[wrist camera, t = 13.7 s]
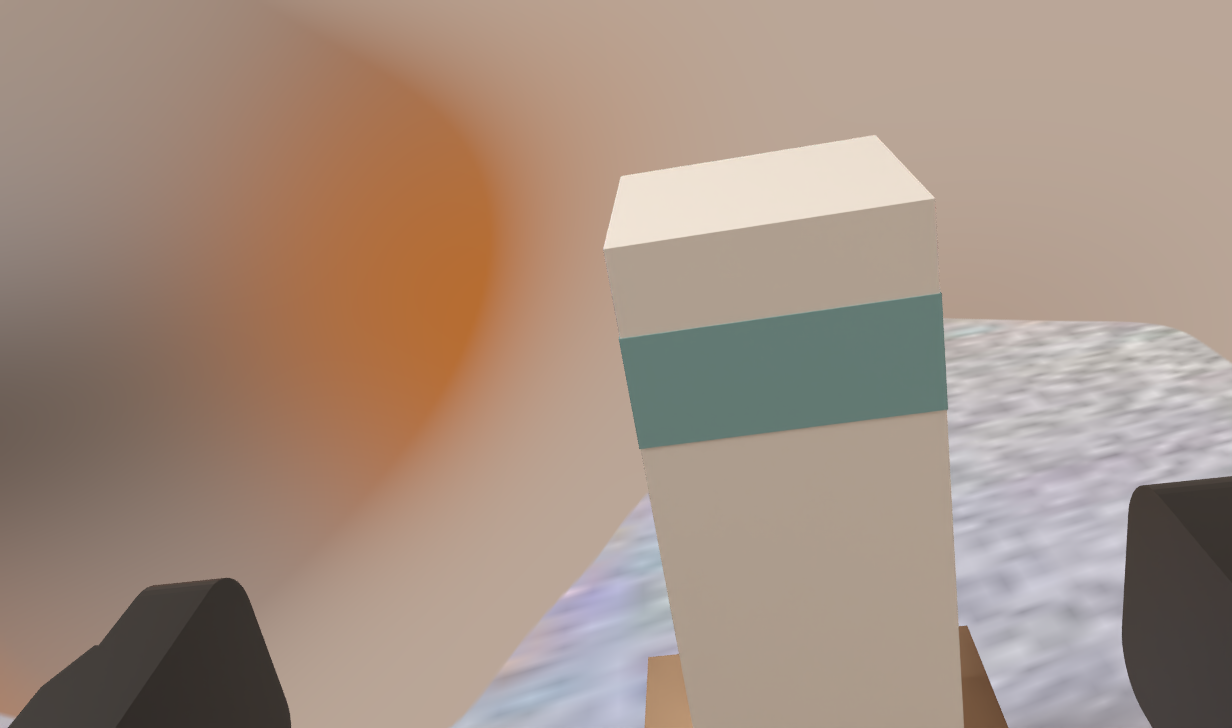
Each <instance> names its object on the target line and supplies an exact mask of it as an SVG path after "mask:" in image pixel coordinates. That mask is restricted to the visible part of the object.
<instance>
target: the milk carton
mask: <svg viewBox="0 0 1232 728" xmlns="http://www.w3.org/2000/svg"><path fill="white" fill-rule="evenodd" d="M603 251H604V256H605V262H606V267H607V272H608V278H609V283H610V288H611V293H612V299H613V304H614V310H615V315H616V320H617V326H618V331H619V342H620V348H621V353H622V359H623V364H624V369H625V374H626V380H627V385H628V390H629V396H630V401H631V406H632V411H633V417H634V422H635V427H636V433H637V437H638V444H639V449H641V453H642V459H643V464H644V469H645V475H646V480H647V485H648V491H649V496H650V501H651V507H652V512H653V517H654V523H655V528H656V533H657V539H658V544H659V549H660V555H661V560H662V565H663V571H664V576H665V581H666V587H667V592H668V597H669V603H670V608H671V613H672V619H673V624H674V629H675V635H676V640H677V645H678V651H679V656H680V661H681V667H682V672H683V677H684V683H685V688H686V693H687V699H688V704H689V709H690V715H691V720H692V725H693V728H964V718H963V700H962V682H961V663H960V645H959V627H958V608H957V590H956V572H955V554H954V535H953V517H952V499H951V480H950V462H949V444H948V425H947V410H948V402H947V383H946V365H945V346H944V328H943V311H942V310H943V309H942V293H941V292H940V279H939V261H938V242H937V224H936V207H935V198H934V197H933V196H932V195H931V194H930V192H929V191H928V190H927V189H926V188H925V187H924V186H923V185H922V184H921V183H920V182H919V181H918V180H917V179H916V178H915V177H914V176H913V174H912V173H911V172H910V171H909V170H908V169H907V168H906V167H905V166H904V165H903V164H902V163H901V162H900V161H899V160H898V159H897V158H896V157H895V155H894V154H893V153H892V152H891V151H890V150H889V149H888V148H887V147H886V146H885V145H884V144H883V143H882V142H881V141H880V140H879V139H878V137H877V136H876V135H873V136H867V137H860V138H854V139H848V140H843V141H836V142H830V143H823V144H817V145H811V146H806V147H799V148H793V149H786V150H780V151H774V152H768V153H762V154H756V155H750V156H743V157H737V158H732V159H725V160H719V161H712V162H706V163H701V164H694V165H688V166H682V167H676V168H670V169H663V170H657V171H651V172H645V173H638V174H632V175H626V176H621V178H620V182H619V187H618V191H617V195H616V199H615V203H614V207H613V211H612V215H611V219H610V224H609V227H608V232H607V236H606V240H605V244H604V248H603Z"/></svg>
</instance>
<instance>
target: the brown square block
mask: <svg viewBox="0 0 1232 728" xmlns="http://www.w3.org/2000/svg"><path fill="white" fill-rule="evenodd" d="M959 645H960V663H961V682H962V700H963V718H964V728H1008V726H1007V723H1006V721H1005V718H1004V716H1003V713H1002V711H1001V708H1000V706H999V703H998V701H997V699H996V696H995V694H994V691H993V689H992V686H991V684H990V681H989V679H988V676H987V674H986V671H985V669H984V666H983V664H982V661H981V659H980V656H979V654H978V651H977V649H976V647H975V644H974V642H973V639H972V637H971V634H970V632H969V629H968V627H967V626H959ZM645 728H693V725H692V720H691V715H690V709H689V704H688V699H687V693H686V688H685V683H684V677H683V672H682V667H681V661H680V656H679V654H677V655H667V656H657V657H648V675H647V694H646V714H645Z"/></svg>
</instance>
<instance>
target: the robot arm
mask: <svg viewBox="0 0 1232 728" xmlns="http://www.w3.org/2000/svg"><path fill="white" fill-rule="evenodd" d="M1122 645H1123V653H1124V659H1125V664H1126V668H1127V672H1128V676H1129V679H1130V683H1131V686H1132V688H1133V691H1134V694H1135V696H1136V699H1137V701H1138V703H1139V705H1140V707H1141V709H1142V711H1143V712H1144V714H1145V716H1146V717H1147V719H1148V721H1149V723H1150V724H1151V726H1152V728H1232V476H1230V477H1220V478H1210V479H1201V480H1191V481H1181V482H1172V483H1162V484H1152V485H1143V486H1139V487H1138V488H1136V489H1135V491H1134V492H1133V494H1132V497H1131V500H1130V504H1129V512H1128V529H1127V547H1126V565H1125V583H1124V601H1123V619H1122ZM8 728H291V720H290V713H289V708H288V704H287V701H286V698H285V696H284V693H283V690H282V687H281V684H280V682H279V679H278V676H277V674H276V671H275V668H274V666H273V663H272V660H271V657H270V655H269V652H268V649H267V646H266V644H265V641H264V639H263V636H262V633H261V630H260V627H259V625H258V622H257V619H256V617H255V614H254V611H253V608H252V606H251V603H250V600H249V598H248V596H247V594H246V592H245V590H244V588H243V587H242V586H241V585H240V584H239V583H238V582H237V581H236V580H234V579H231V578H221V579H211V580H203V581H192V582H182V583H173V584H163V585H153V586H150V587H148V588H146V589H145V590H143V591H142V592H141V593H140V594H139V595H138V596H137V597H136V598H135V600H134V601H133V602H132V604H131V605H130V606H129V607H128V609H127V610H126V611H125V612H124V614H123V615H122V616H121V618H120V619H119V620H118V621H117V623H116V624H115V625H114V627H113V628H112V629H111V630H110V632H109V633H108V634H107V635H106V637H105V638H104V639H103V641H102V642H101V643H100V644H99V645H97V646H93V647H92V648H91V649H90V650H88V651H87V652H86V653H84V654H83V655H82V656H80V657H79V658H78V659H77V660H75V661H74V662H73V663H71V664H70V665H69V666H68V667H66V668H65V669H64V670H62V671H61V672H60V673H59V674H57V675H56V676H55V677H54V678H52V679H51V680H50V681H49V682H47V683H46V684H45V685H43V686H42V687H41V688H40V689H39V690H38V692H37V693H36V694H35V695H34V696H33V698H32V699H31V700H30V701H29V703H28V704H27V705H26V706H25V708H24V709H23V710H22V711H21V712H20V714H19V715H18V716H17V717H16V719H15V720H14V721H13V722H12V723H11V725H10V726H9V727H8Z"/></svg>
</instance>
